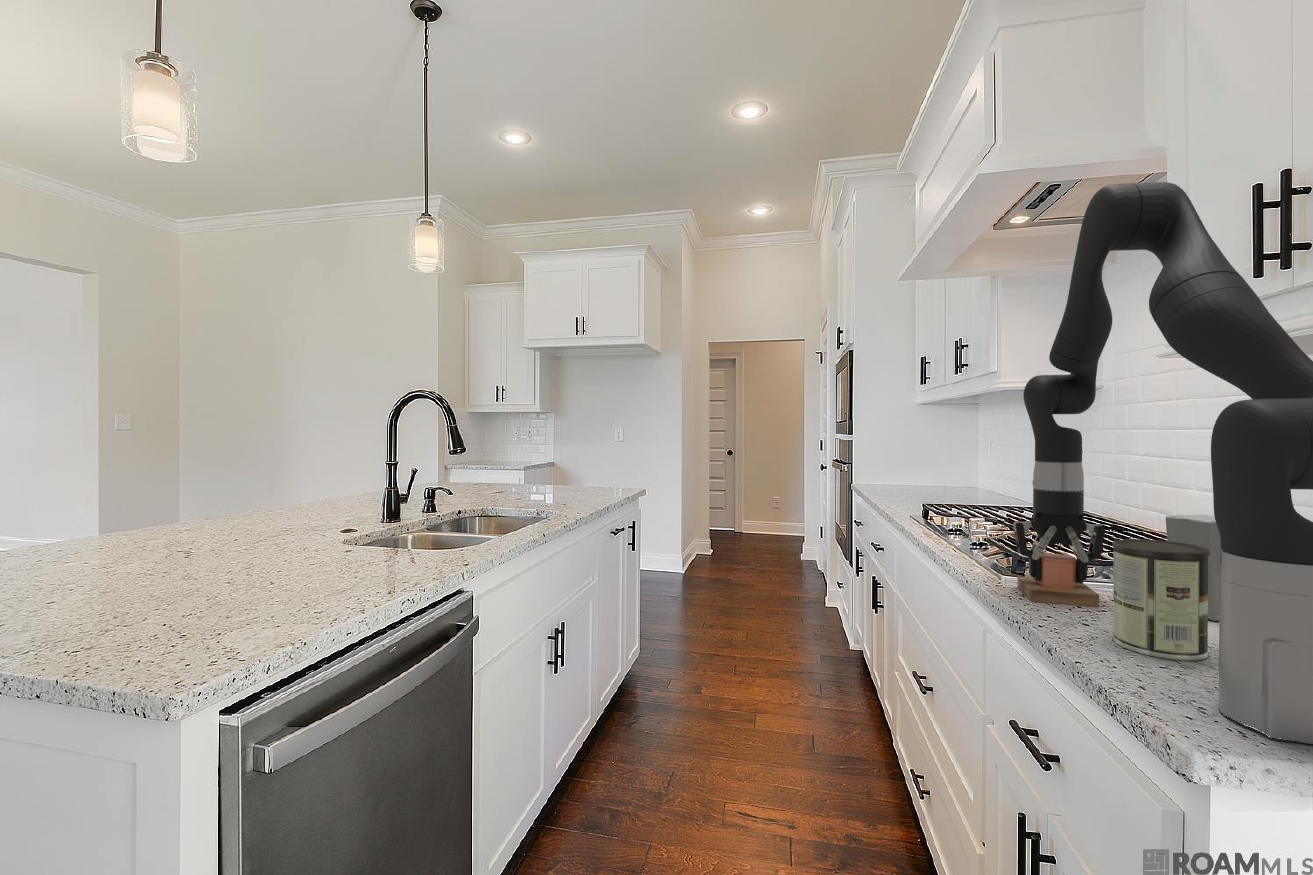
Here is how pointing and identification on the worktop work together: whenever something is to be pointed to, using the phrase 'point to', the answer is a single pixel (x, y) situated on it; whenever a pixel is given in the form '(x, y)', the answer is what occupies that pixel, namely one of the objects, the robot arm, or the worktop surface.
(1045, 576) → the cap
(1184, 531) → the skincare box
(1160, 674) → the worktop surface
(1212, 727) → the worktop surface
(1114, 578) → the coffee can
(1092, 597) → the peg block
